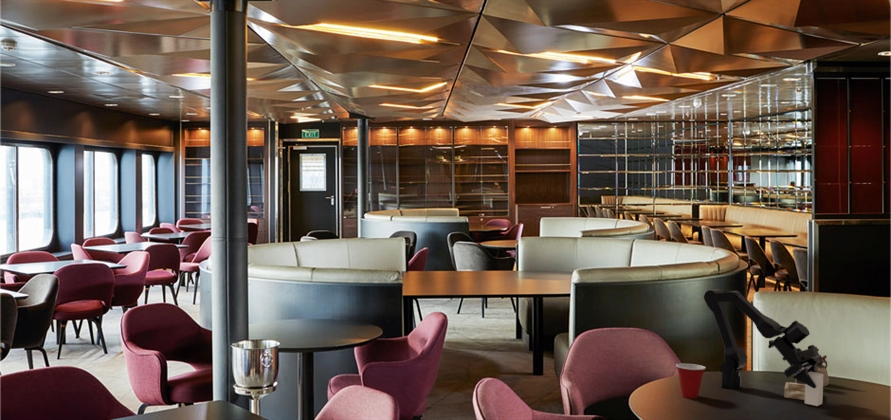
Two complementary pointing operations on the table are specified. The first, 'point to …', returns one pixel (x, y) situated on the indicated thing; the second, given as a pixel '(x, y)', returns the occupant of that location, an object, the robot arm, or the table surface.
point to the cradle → (795, 390)
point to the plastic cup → (690, 379)
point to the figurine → (822, 369)
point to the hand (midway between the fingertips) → (818, 386)
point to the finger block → (814, 390)
